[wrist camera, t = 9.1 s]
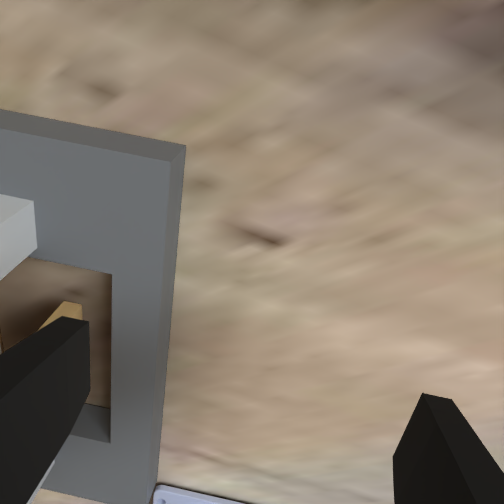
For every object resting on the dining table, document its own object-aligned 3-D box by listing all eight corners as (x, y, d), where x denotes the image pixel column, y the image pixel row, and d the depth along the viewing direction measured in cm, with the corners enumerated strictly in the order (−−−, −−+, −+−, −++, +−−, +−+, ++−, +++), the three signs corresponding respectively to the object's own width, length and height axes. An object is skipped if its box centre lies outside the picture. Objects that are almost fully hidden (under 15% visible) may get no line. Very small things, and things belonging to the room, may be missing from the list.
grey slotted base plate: (156, 479, 27) (124, 572, 23) (-40, 434, 28) (-109, 517, 24) (186, 145, 18) (138, 196, 13) (-119, 85, 18) (-262, 115, 14)
